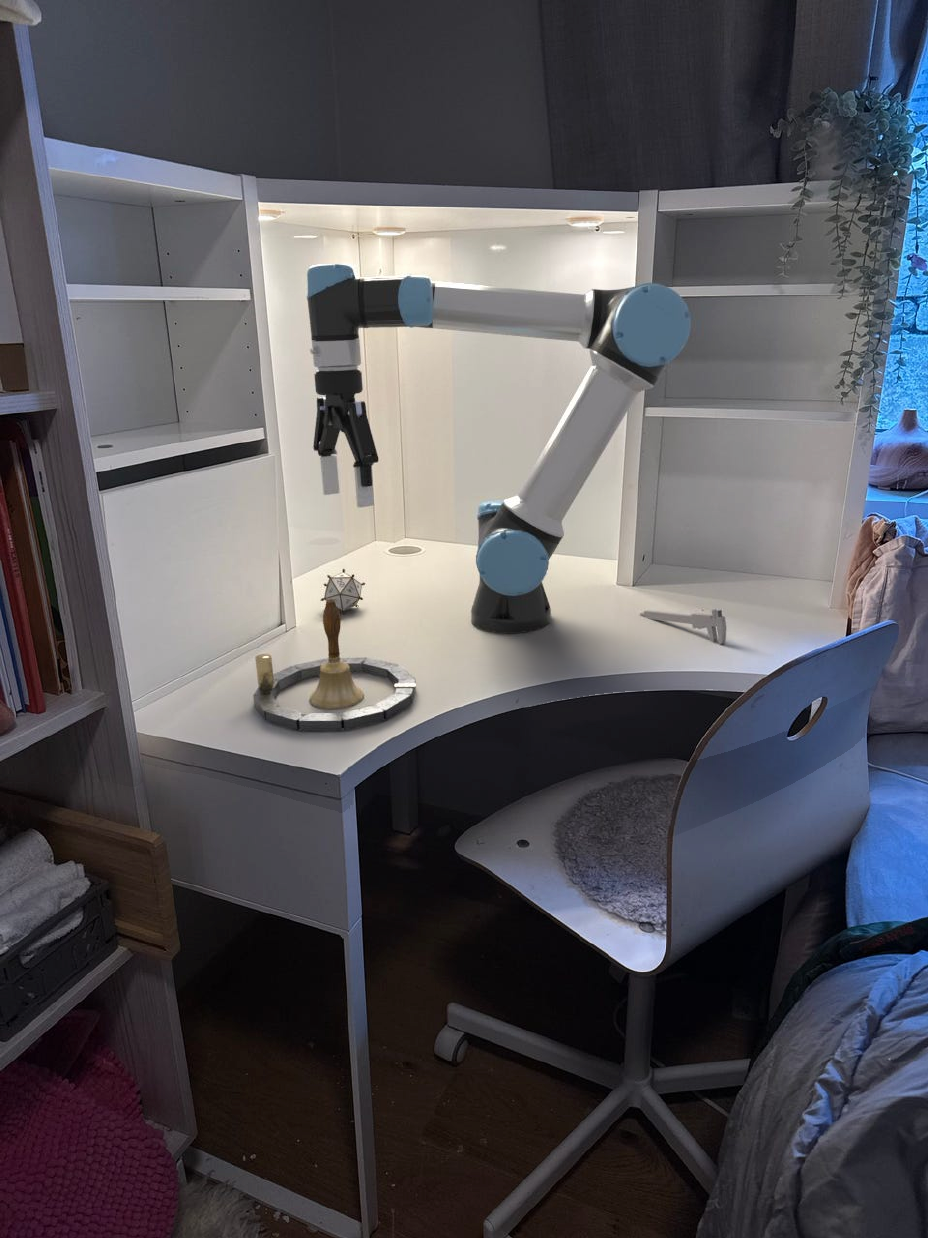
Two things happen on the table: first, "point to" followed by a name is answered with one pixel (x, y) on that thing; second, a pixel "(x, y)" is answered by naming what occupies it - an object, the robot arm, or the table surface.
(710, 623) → the caliper
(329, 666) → the hand bell
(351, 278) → the robot arm
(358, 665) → the ring
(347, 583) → the game die
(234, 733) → the table surface
